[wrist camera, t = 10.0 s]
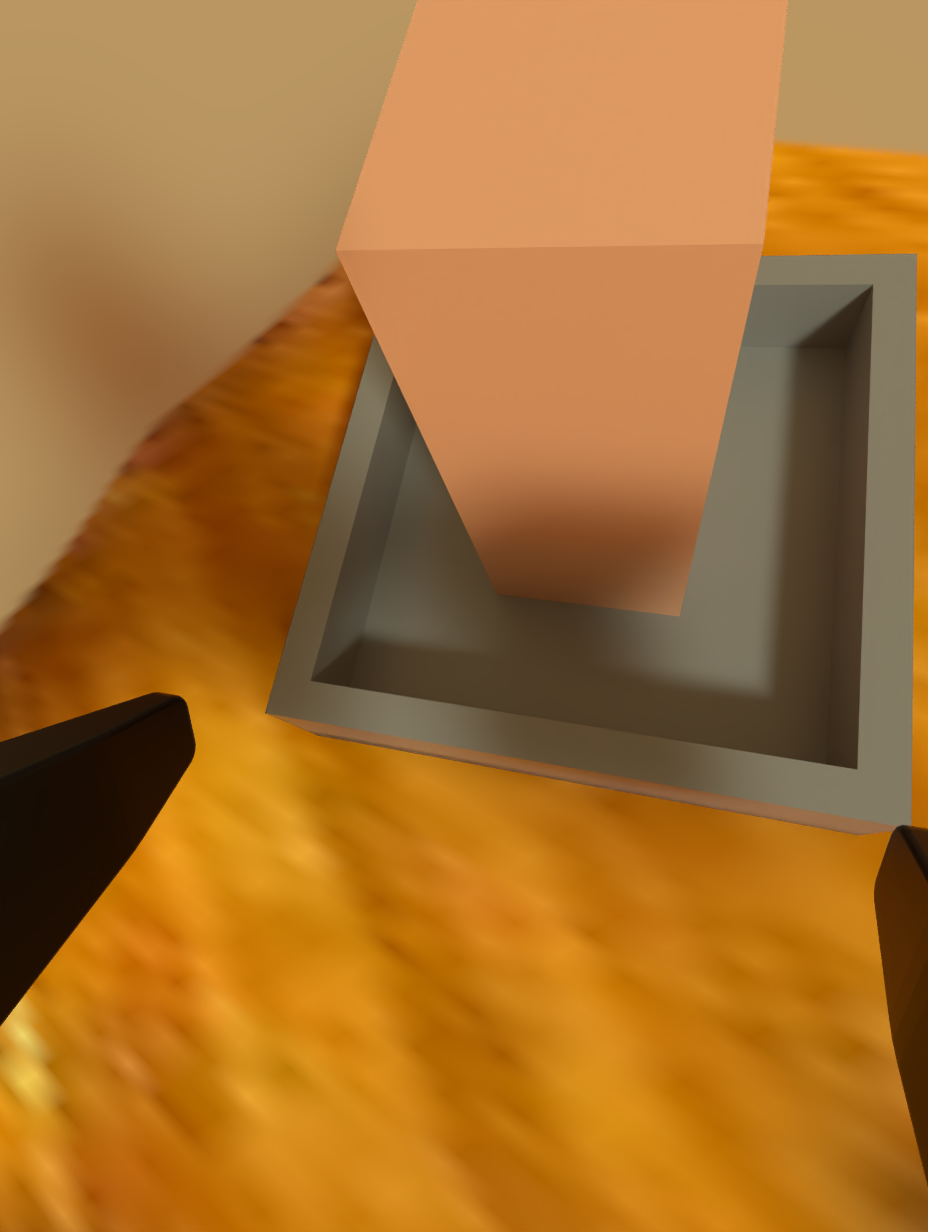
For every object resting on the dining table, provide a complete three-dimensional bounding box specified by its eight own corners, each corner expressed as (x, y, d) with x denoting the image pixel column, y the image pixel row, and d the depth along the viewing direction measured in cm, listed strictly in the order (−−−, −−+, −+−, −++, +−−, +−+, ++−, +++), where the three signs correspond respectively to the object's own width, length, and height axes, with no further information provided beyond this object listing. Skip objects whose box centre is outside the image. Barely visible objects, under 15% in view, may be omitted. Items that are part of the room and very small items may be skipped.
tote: (858, 835, 15) (911, 828, 12) (317, 735, 19) (265, 713, 16) (874, 342, 19) (917, 253, 16) (423, 335, 23) (395, 262, 20)
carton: (679, 616, 17) (763, 244, 7) (496, 594, 18) (335, 250, 8) (699, 452, 18) (793, -64, 8) (528, 442, 19) (423, -17, 9)
